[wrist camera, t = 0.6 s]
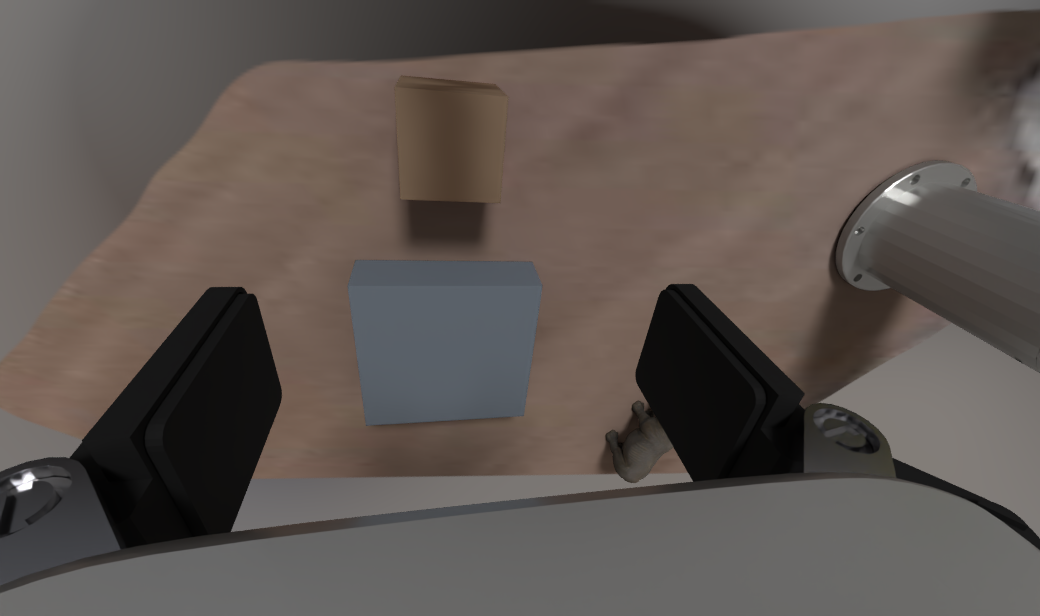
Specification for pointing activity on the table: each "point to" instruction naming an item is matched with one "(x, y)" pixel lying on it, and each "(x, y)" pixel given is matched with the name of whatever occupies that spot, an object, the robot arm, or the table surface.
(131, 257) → the table surface
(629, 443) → the rhino figurine
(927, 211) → the robot arm
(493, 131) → the walnut cube
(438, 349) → the pedestal
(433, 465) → the table surface
